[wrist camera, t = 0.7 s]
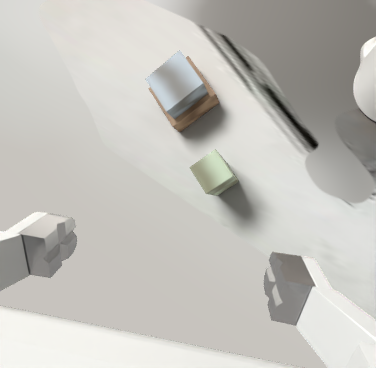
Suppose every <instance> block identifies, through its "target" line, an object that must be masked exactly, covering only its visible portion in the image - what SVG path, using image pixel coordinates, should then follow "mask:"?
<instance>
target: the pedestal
mask: <svg viewBox="0 0 376 368" xmlns="http://www.w3.org/2000/svg"><path fill="white" fill-rule="evenodd" d="M146 81H147V82H148V84H149V85H150V88H149V90H150V92H151V93H152V95H153V96H154V98H155V99H156V101H157V103H158V104H159V106H160V107H161V109H162V110H163V112H164V114H165V115H166V117H167V118H168V120H169V121H170V123H171V124H172V126H173V127H174V128H175V129H176V130H177V131H179V132H181V131H182V130H184V129H185V128H186V127H188V126H189V125H190V124H192V123H193V122H194V121H196V120H197V119H198V118H200V117H201V116H202V115H204V114H205V113H206V112H208V111H209V110H210V109H212V108H213V107H214V106H216V105H217V104H218V103H219V101H218V98H217V96H216V94H215V92H214V91H213V90H212V88H211V87H210V85H209V84H208V83H207V81H206V80H205V79H204V77H203V76H202V74H201V73H200V72H199V70H198V69H197V67H196V66H195V65H194V63H193V62H192V61H191V59H190V58H189V56H187V57H186V58H185V57H184V55H183V54H182V52H181V51H180V50H179V51H178V52H177V53H176V54H175V55H173V56H172V57H171V58H170V59H169V60H167V61H166V62H165V63H164V64H163V65H161V66H160V67H159V68H158V69H157V70H155V71H154V72H153V73H152V74H151V75H150V76H148V77H147V78H146Z"/></svg>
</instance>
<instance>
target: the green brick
mask: <svg viewBox="0 0 376 368" xmlns="http://www.w3.org/2000/svg"><path fill="white" fill-rule="evenodd" d="M190 169H191V171H192V172H193V174H194V175H195V177H196V179H197V180H198V182H199V183H200V185H201V187H202V188H203V190H204V191H205V193H206V194H210V195H216V196H218V195H219V194H221V193H222V192H224V191H225V190H227V189H228V188H230V187H231V186H233V185H234V184H236V183H238V182H239V181H238V179H237V178H236V176H235V175H234V173H233V172H232V170H231V169H230V167H229V166H228V164H227V163H226V161H225V160H224V159H223V158H222V156H221V155H220V154H219V153H218V152H217V150H216V149H215V150H214V151H212V152H211V153H209V154H208V155H207V156H205V157H204V158H202V159H201V160H200V161H198V162H197V163H195V164H194V165H192V166H191V167H190Z"/></svg>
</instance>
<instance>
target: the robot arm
mask: <svg viewBox="0 0 376 368" xmlns="http://www.w3.org/2000/svg"><path fill="white" fill-rule="evenodd" d="M353 91H354V97H355V100H356V103H357V105H358V106H359V108H360V109H361V110H362V112H363V113H364V114H365V115H366V116H368V117H369V118H370V119H372V120H374V121H375V122H376V37H374V38H372V39H370V40H369V41H367V42H366V43H365V44H364V45H363V46H362V48H361V64H360V67H359V69H358V71H357V74H356V76H355V79H354V85H353ZM75 227H76V226H75V220H74V219H73V218H71V217H65V216H60V215H55V214H49V213H44V212H35V213H33V214H31V215H30V216H28V217H27V218H25V219H24V220H22V221H21V222H19V223H17V224H16V225H14V226H13V227H11V228H10V229H8V230H7V231H5V232H3V231H0V291H1V290H3V289H5V288H7V287H9V286H11V285H12V284H14V283H16V282H18V281H20V280H22V279H24V278H25V277H28V276H29V275H36V276H42V277H48V278H51V277H52V276H53V275H54V274H55V273H56V271H57V270H58V269H59V268H60V267H61V266H62V261H63V260H66V259H68V258H69V257H70V256H71V255H72V254H73V252H74V250H75V248H76V244H77V236H76V235H75V233H74V232H73V230H74V228H75ZM269 261H270V265H271V266H270V267H269V268H267V269H266V272H265V276H264V289H265V294H266V295H267V296H268V297H269V301H268V308H269V312H270V316H271V320H273V321H277V322H282V323H287V324H291V325H295V326H296V328H297V329H298V330H299V332H300V333H301V334H302V335H303V337H304V338H305V339H306V340H307V342H308V343H309V344H310V346H311V347H312V348H313V349H314V351H315V352H316V353H317V354H318V356H319V357H320V358H321V359H322V361H323V362H324V363H325V365H326V366H327V367H328V368H376V320H375V319H374V318H372V317H371V316H370V315H369V314H367V313H366V312H365V311H363V310H362V309H361V308H359V307H358V306H357V305H355V304H354V303H353V302H351V301H350V300H349V299H348V298H346V297H345V296H344V295H342V294H341V293H340V292H338V291H335V290H333V289H332V287H331V285H330V284H329V282H328V280H327V279H326V277H325V275H324V273H323V272H322V270H321V268H320V266H319V265H318V263H317V261H316V260H315V259H314V258H313V257H306V256H297V255H290V254H284V253H278V252H272V254H271V255H270V259H269ZM0 368H303V367H298V366H293V365H288V364H283V363H279V362H273V361H269V360H264V359H259V358H254V357H249V356H244V355H240V354H234V353H230V352H225V351H220V350H216V349H211V348H206V347H201V346H196V345H191V344H187V343H182V342H177V341H172V340H167V339H162V338H157V337H153V336H147V335H143V334H137V333H133V332H128V331H123V330H118V329H114V328H109V327H103V326H99V325H93V324H89V323H84V322H79V321H74V320H69V319H65V318H60V317H55V316H50V315H45V314H40V313H35V312H31V311H26V310H21V309H16V308H11V307H6V306H1V305H0Z"/></svg>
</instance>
